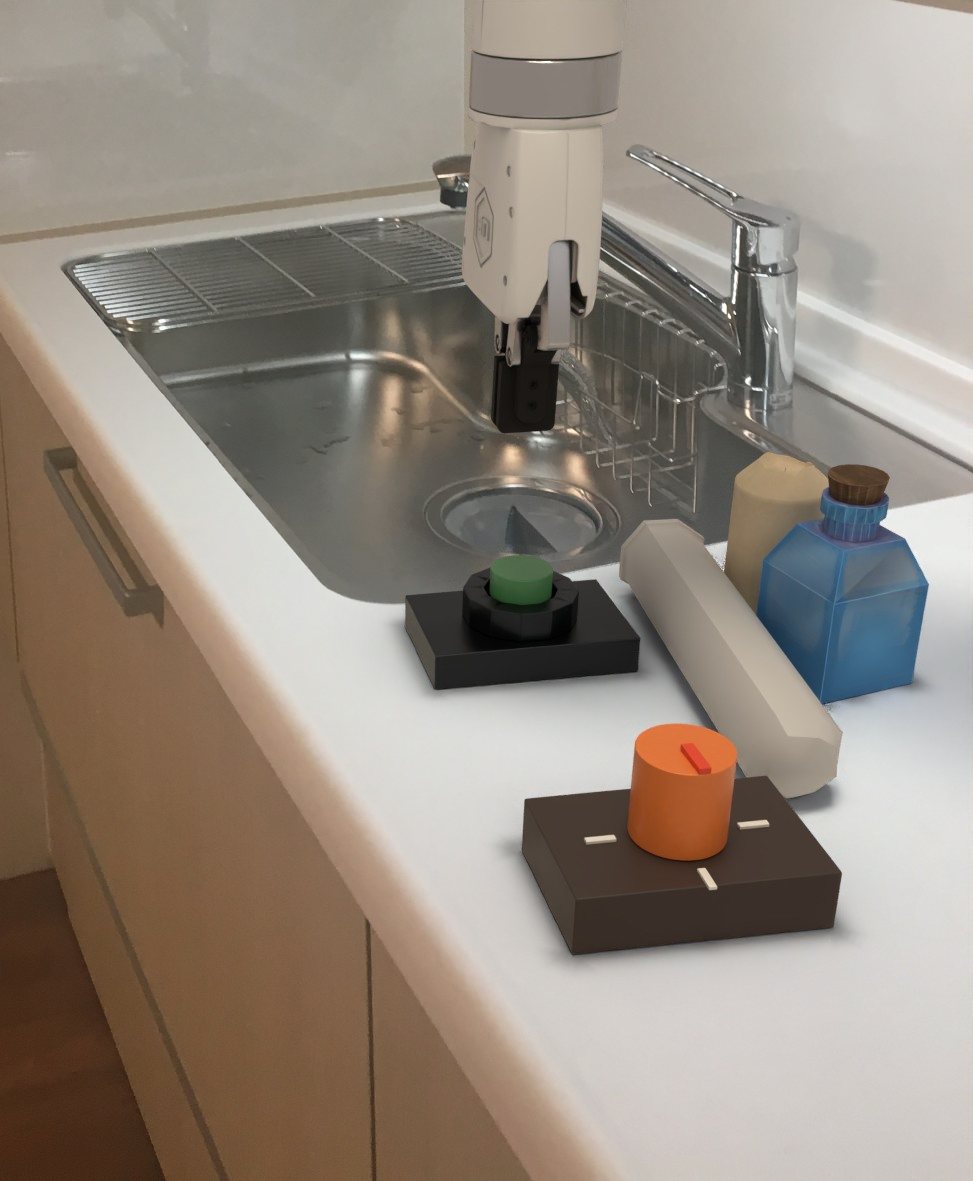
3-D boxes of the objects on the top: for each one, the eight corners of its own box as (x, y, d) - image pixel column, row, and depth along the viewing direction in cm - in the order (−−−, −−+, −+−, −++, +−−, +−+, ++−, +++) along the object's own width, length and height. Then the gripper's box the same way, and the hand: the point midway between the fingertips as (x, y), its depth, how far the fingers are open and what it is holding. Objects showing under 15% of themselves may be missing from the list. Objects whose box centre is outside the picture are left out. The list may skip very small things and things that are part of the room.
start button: (541, 578, 97) (542, 552, 96) (559, 605, 93) (561, 578, 93) (482, 583, 96) (483, 557, 95) (498, 610, 93) (499, 583, 92)
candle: (828, 607, 100) (852, 456, 95) (788, 640, 96) (810, 485, 92) (745, 582, 103) (764, 436, 99) (703, 613, 99) (720, 462, 95)
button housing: (594, 610, 100) (598, 552, 99) (638, 671, 93) (643, 610, 92) (404, 626, 99) (405, 568, 98) (434, 689, 92) (436, 627, 91)
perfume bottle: (751, 655, 94) (774, 464, 89) (839, 636, 96) (867, 447, 91) (819, 704, 89) (848, 504, 84) (911, 683, 91) (945, 486, 86)
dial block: (758, 823, 79) (765, 768, 78) (837, 931, 72) (846, 873, 70) (519, 846, 78) (522, 791, 77) (574, 959, 71) (578, 900, 69)
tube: (880, 740, 78) (716, 528, 101) (781, 715, 77) (637, 507, 100) (831, 828, 80) (681, 602, 103) (734, 805, 80) (604, 582, 102)
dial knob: (613, 811, 75) (620, 722, 73) (703, 801, 76) (713, 713, 74) (648, 866, 71) (657, 774, 69) (743, 855, 72) (755, 763, 70)
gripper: (437, 69, 88) (426, 387, 97) (512, 116, 75) (492, 481, 83) (570, 63, 89) (548, 380, 97) (668, 109, 76) (633, 472, 84)
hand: (522, 426), depth 90 cm, fingers closed
